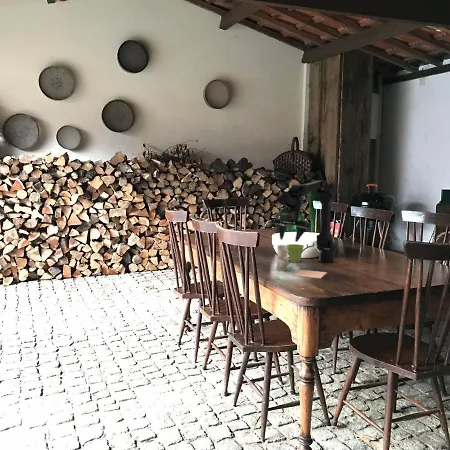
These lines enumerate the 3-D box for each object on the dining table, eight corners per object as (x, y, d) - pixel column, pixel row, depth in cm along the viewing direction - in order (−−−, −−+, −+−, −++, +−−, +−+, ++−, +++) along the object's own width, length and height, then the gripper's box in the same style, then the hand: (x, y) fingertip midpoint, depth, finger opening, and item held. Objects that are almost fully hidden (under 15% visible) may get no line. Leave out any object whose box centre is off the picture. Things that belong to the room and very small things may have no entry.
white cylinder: (286, 268, 245) (286, 245, 243) (288, 270, 240) (288, 246, 238) (276, 268, 244) (276, 245, 243) (278, 271, 239) (278, 247, 238)
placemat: (300, 270, 241) (300, 269, 241) (326, 272, 236) (326, 272, 236) (293, 275, 229) (293, 275, 229) (320, 278, 224) (320, 277, 224)
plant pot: (304, 263, 258) (304, 247, 257) (286, 263, 259) (286, 246, 258) (302, 259, 268) (303, 244, 266) (285, 259, 268) (285, 244, 267)
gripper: (269, 204, 239) (263, 235, 238) (300, 207, 226) (294, 240, 225) (283, 209, 247) (277, 239, 246) (313, 212, 234) (307, 243, 233)
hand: (288, 240), depth 237 cm, fingers open, 9 cm apart
